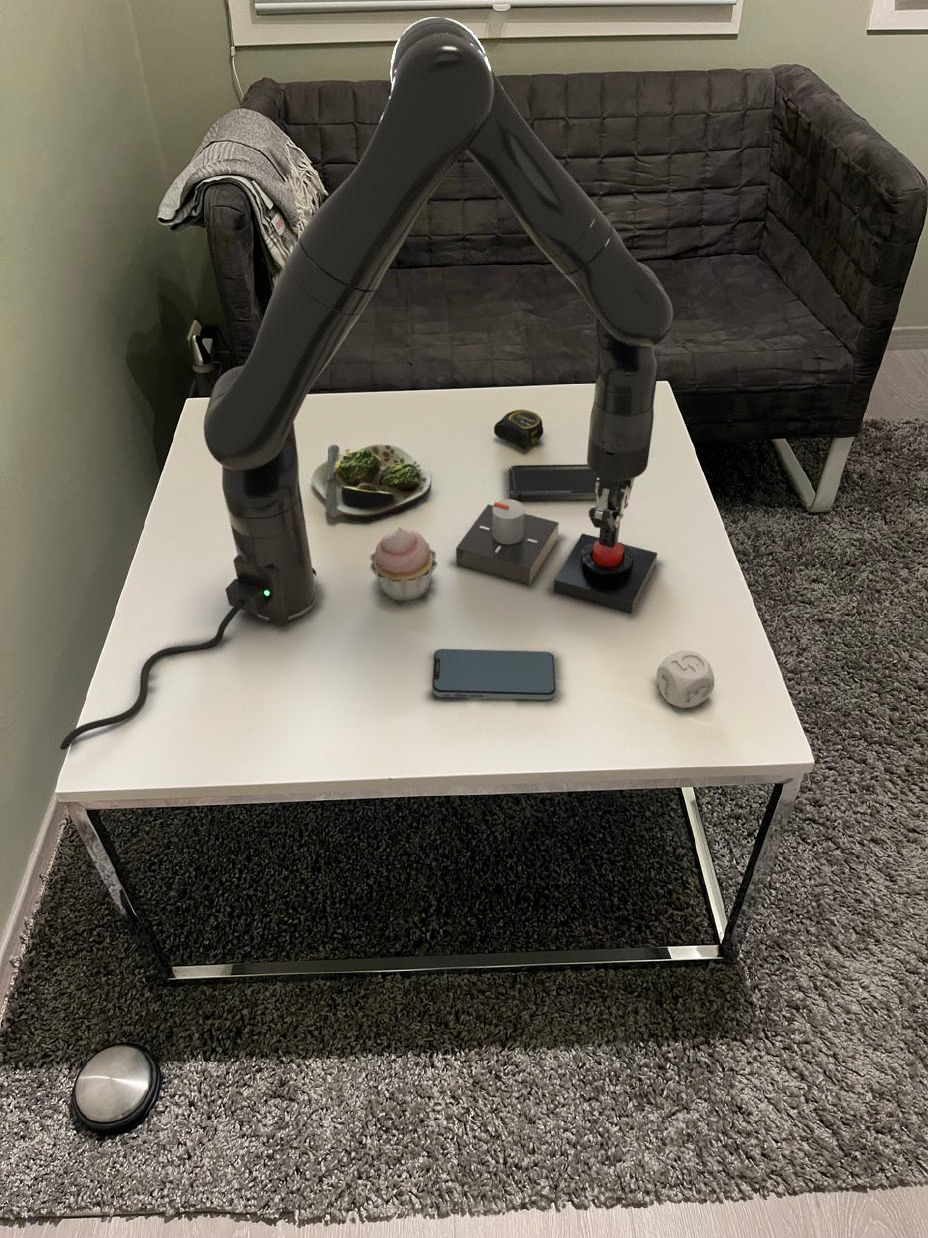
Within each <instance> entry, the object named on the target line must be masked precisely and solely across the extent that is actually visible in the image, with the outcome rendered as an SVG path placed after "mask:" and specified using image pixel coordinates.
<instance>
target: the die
mask: <svg viewBox="0 0 928 1238" xmlns="http://www.w3.org/2000/svg"><path fill="white" fill-rule="evenodd" d="M656 682H657V686H658V689H659V691H660V693H661V695H662V697H663V698H664V699H665V700H666V701H667V703H669V704H671V705H673V706H675V707H678V708H683V709H684V708H685V709H687V708H693V707H696V706H698V705H700V704H702V703H703V702H704V701H706V700H707V698H708V697H709V696H710V695H711V694H712V692H713V691H714V688H715V675H714V671H713V668H712V666H711V664H710V663H709V661H708V660H707V658H706V657H704V656H703V655H702V654H701V653H698V652H697V651H693V650H686V649H685V650H677V651H675V652H672V653H671V654H669V655H668V656H666V657H665V658H664V659H663V660H662V661H661V662H660V664H659V665H658V668H657V670H656Z"/></svg>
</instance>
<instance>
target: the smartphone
mask: <svg viewBox="0 0 928 1238" xmlns="http://www.w3.org/2000/svg"><path fill="white" fill-rule="evenodd" d="M554 658H555V657H554V655H553V653H551V652H549V651H536V650H535V651H531V650H501V649H499V650H498V649H496V650H495V649H494V650H493V649H464V648H463V649H460V648H459V649H458V648H457V649H456V648H438V649H437V650H436V651H435V652H434V653H433V668H432V669H433V672H432V685H431V686H432V687H431V689H432V694H433V695H434V696H436V697H440V698H471V699H472V698H473V699H474V698H475V699H507V700H508V699H510V700H511V699H512V700H543V701H545V700H547V701H548V700H552V699H554V698H555V696H556V691H557V686H556V674H555V672H556V671H555V659H554Z"/></svg>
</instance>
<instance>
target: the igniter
mask: <svg viewBox="0 0 928 1238" xmlns="http://www.w3.org/2000/svg"><path fill="white" fill-rule="evenodd" d="M577 539H578V540H577V541H576V542H575V544H574V546H573V548H572V550H571V551H570V553H569V554H568V556H567V558H566V560H565V561H564V563H563V565H562V566H561V568H560V569H559V572H558V573H557V575H556V576H555V578H554V580H553V593H556V594H559V595H563V596H568V597H570V598H573V599H577V600H581V601H584V602H587V603H592V604H594V605H598V606H602V607H606V608H609V609H612V610H617V611H620V612H623V613H627V614H630V615H631V614H633V612H634V610H635V608H636V605H638V604H637V603H638V601H639V599H640V597H641V595H642V594H643V591H644V589H645V587H646V586H647V583H648V581H649V579H650V577H651V575H652V574H653V571H654V569H655V567H656V565H657V558H658V552H656V551H652V550H648V549H643V548H640V547H637V546H632V545H629V544H625V543H623V542H620V541H618V542H619V543H620V544H621V545H622V546H623V558H622V562H621V563H620V564H619V565H617V566H615V567H604V566H600V565H598V564H596V563H595V562H594V560H593V547H594V544H595V543H596V542H597V541H599V536H594V535H591V534H586V533H581V534H580V536H579V538H577Z"/></svg>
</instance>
